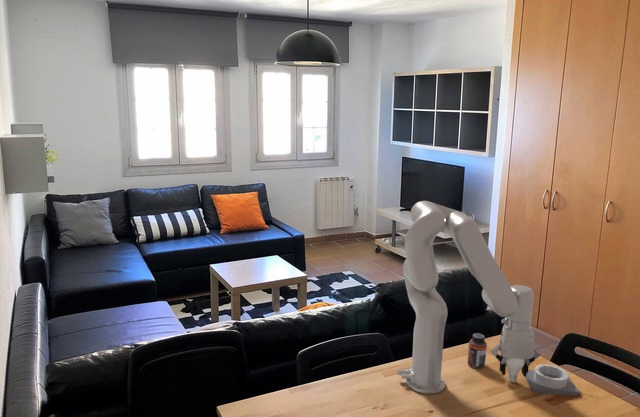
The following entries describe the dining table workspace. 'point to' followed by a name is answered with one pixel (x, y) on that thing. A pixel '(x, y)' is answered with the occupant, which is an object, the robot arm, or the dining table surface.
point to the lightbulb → (514, 368)
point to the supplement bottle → (477, 351)
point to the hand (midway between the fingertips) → (513, 373)
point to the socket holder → (550, 381)
